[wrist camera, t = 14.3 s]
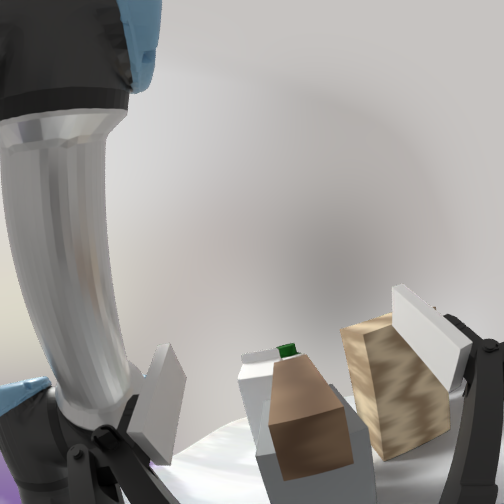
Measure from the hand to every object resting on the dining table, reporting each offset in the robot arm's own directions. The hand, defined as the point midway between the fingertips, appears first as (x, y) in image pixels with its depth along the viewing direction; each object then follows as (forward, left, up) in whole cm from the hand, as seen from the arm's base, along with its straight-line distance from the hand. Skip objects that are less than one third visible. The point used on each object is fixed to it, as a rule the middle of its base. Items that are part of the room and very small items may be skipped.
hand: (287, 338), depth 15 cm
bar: (0, +8, -8) cm, 12 cm away
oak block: (+16, +27, -25) cm, 40 cm away
